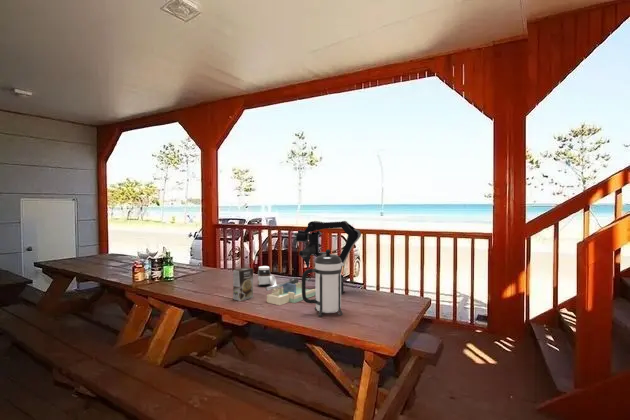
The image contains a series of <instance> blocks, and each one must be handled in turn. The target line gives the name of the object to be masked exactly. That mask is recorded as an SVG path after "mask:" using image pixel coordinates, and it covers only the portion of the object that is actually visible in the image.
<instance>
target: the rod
mask: <svg viewBox="0 0 630 420" xmlns="http://www.w3.org/2000/svg"><path fill="white" fill-rule="evenodd" d="M299 281H300V279H298V277H294V278H291V279H289V280H288V281H284V282H281V283H276V285H273V286H272V285H269V286H266V287H265V291H271V290H273V289H278V288H281V287H282V288H283V292H293V293H296V284H297V283H298V282H299Z"/></svg>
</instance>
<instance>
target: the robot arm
mask: <svg viewBox="0 0 630 420" xmlns="http://www.w3.org/2000/svg"><path fill="white" fill-rule="evenodd" d="M325 229H327V230H328V229H342V230H343V231H344V232H345V234H347V237H346V243H345V245H344V247H343V249H342V250H341V251H340V252H341V253H340V255H338V256H339V257H340V258H341V260H342V263H343V264H344V265H345V262H346V260H347V257H348V256H349V255H350V252H351V251H352V249H353V247H354V245H355V244H356V243H357V242H358V240H360V238H361V237H362V232H361V231H360V230H359V229H358V228H355V227H354V226H353V225H351V224H350V223H349V222H348V221H346V220H342V221H341V220H340V221H327V222H325V221H317V220H314V221H310V222H308V224H307V227H306V228H305V230H297V234H296V237H295V240H296V242H298V243H300V242H301V243H307V245H306V246H307V247H305V248H304V249H303V250H299V253H298V256H299V257H301V258H302V259H303V261H304V263H305V265H306V268H307V269H310V268H309V267H310V262H311V256H315V257H317V256H319V255H322V254H327V253H326V251H322V252H321V250H320V249H319V246H321V244H320V242H319V241H320V240H319V239H320V238H319V237H320V236H321V235H323V233H322V232H321V231H320V230H325ZM342 271H343V266H341V272H342ZM344 279H345V276H344V275H342V273H341V295H342V294H344V293H346V291H345V290H344ZM343 292H344V293H343Z"/></svg>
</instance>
